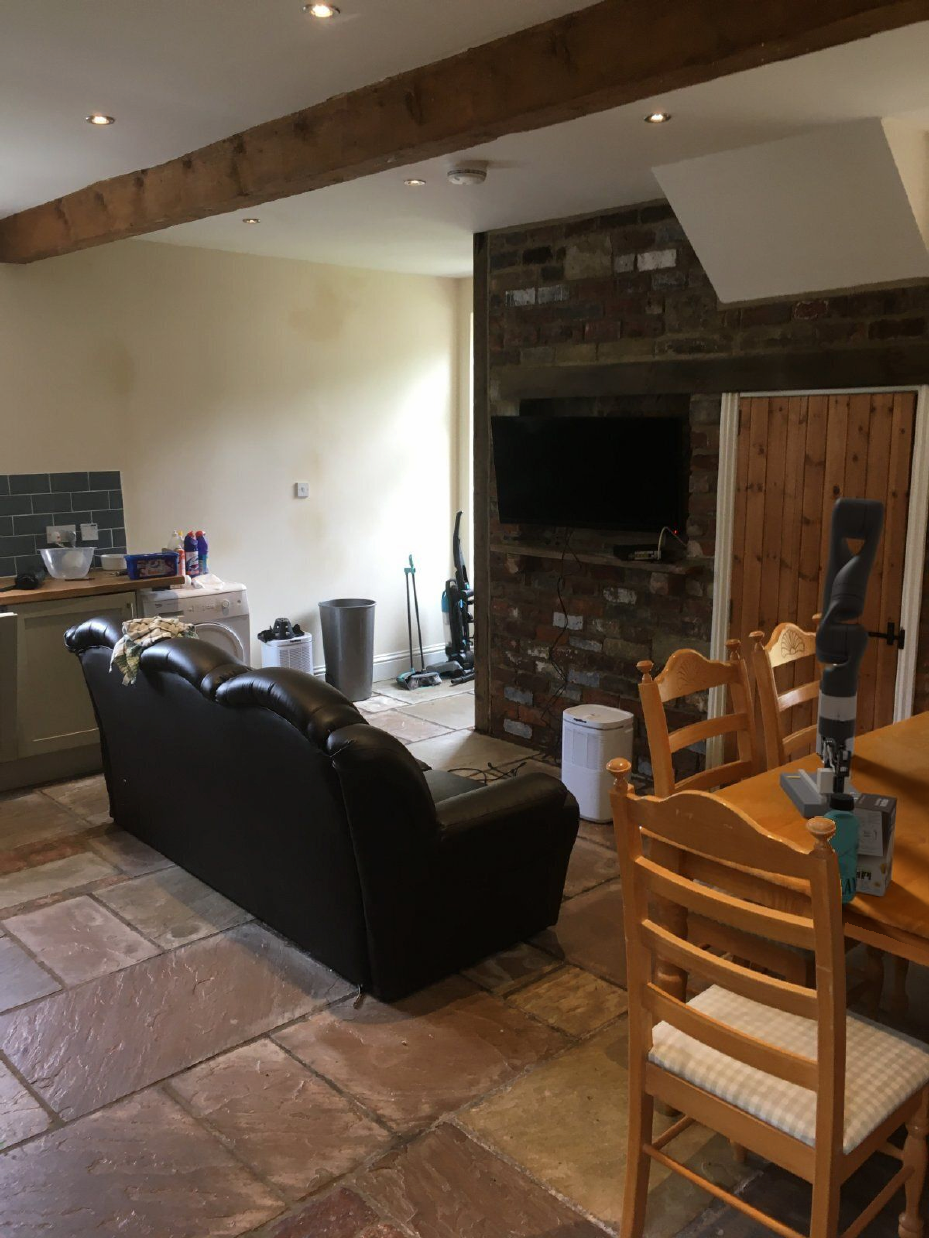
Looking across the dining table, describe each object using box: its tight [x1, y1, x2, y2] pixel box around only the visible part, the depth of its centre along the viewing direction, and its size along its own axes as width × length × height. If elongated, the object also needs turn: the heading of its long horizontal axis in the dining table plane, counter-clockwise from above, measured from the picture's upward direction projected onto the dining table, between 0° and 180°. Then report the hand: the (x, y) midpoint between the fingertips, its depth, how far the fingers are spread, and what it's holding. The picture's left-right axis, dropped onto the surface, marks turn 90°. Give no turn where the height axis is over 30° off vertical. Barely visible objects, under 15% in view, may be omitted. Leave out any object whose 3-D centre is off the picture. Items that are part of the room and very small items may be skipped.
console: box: [779, 768, 862, 818], centre depth 226 cm, size 21×14×4 cm, turn 176°
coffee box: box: [853, 792, 898, 897], centre depth 182 cm, size 9×6×16 cm
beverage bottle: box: [821, 793, 860, 904], centre depth 175 cm, size 6×7×20 cm
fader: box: [816, 767, 852, 801], centre depth 219 cm, size 3×6×6 cm, turn 86°
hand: (833, 787), depth 219 cm, fingers open, 6 cm apart
